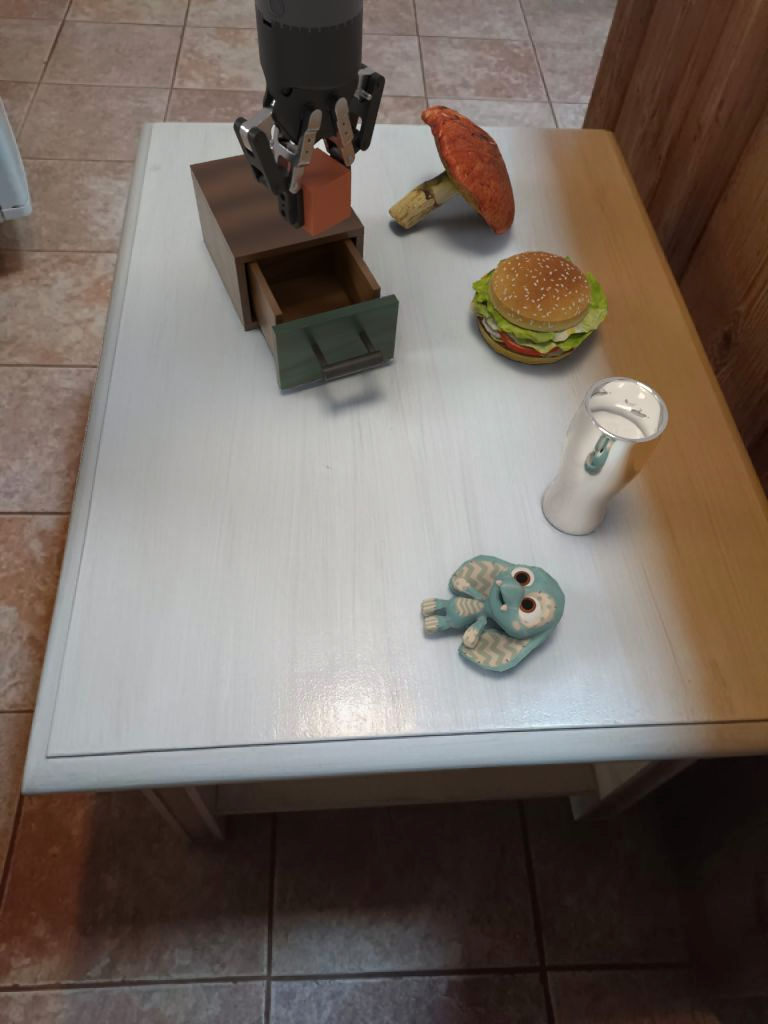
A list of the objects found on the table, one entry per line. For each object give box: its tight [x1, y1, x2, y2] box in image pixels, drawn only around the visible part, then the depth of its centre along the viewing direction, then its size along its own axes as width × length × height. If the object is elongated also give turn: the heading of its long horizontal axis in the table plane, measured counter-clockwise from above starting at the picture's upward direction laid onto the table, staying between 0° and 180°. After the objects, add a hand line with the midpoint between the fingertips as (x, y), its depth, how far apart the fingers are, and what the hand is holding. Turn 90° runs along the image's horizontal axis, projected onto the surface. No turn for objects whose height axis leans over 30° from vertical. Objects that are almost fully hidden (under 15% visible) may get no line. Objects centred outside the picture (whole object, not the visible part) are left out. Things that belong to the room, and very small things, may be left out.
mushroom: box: [388, 104, 516, 236], centre depth 86 cm, size 16×15×15 cm
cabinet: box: [189, 143, 365, 332], centre depth 80 cm, size 16×14×10 cm
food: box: [470, 250, 609, 365], centre depth 78 cm, size 14×14×8 cm
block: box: [287, 146, 352, 236], centre depth 63 cm, size 4×4×4 cm
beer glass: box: [541, 376, 669, 536], centre depth 63 cm, size 7×7×15 cm
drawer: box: [244, 238, 400, 392], centre depth 74 cm, size 19×13×8 cm
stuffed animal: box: [420, 554, 566, 673], centre depth 60 cm, size 11×7×12 cm
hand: (315, 210), depth 64 cm, fingers closed on block, 4 cm apart
